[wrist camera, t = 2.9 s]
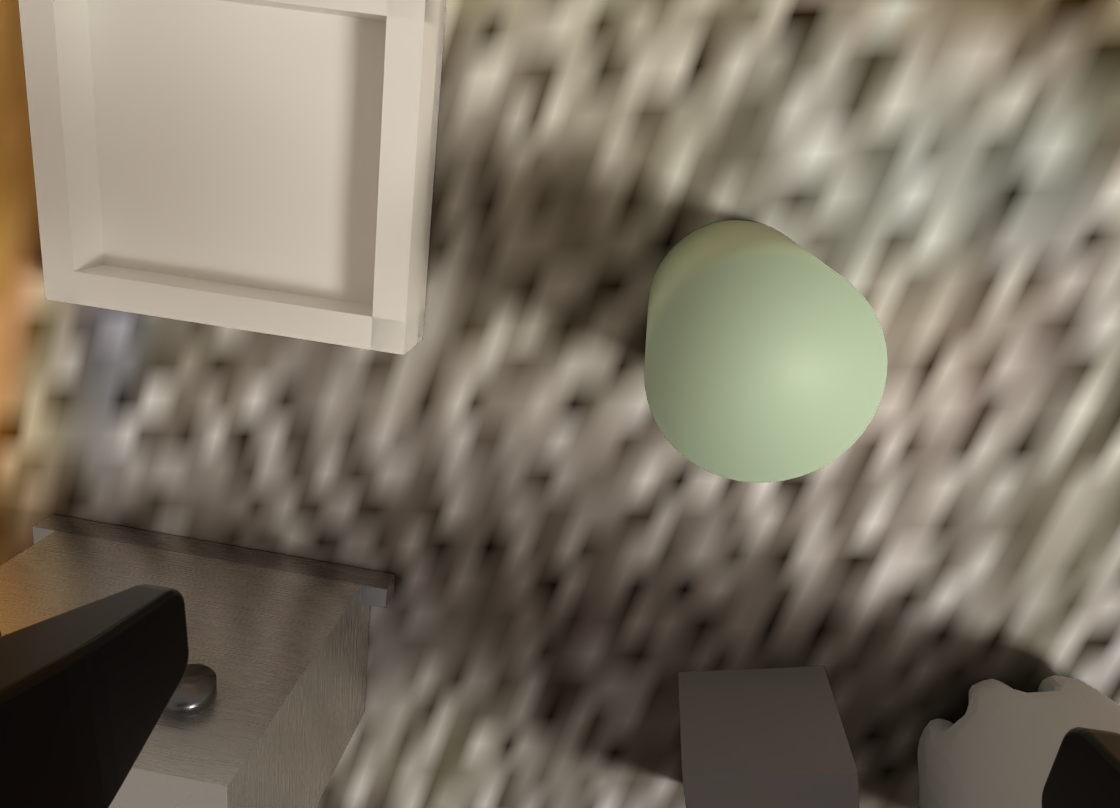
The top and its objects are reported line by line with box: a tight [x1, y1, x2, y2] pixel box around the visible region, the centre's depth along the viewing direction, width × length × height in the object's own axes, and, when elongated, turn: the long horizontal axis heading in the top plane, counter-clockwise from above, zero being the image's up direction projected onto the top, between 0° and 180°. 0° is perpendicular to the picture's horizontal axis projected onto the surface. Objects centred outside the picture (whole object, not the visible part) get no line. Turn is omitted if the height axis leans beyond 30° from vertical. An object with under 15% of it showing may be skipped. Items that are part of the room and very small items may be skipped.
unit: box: [0, 514, 396, 808], centre depth 20 cm, size 10×6×8 cm, turn 83°
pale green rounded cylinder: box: [644, 220, 887, 483], centre depth 16 cm, size 4×4×6 cm
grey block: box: [678, 666, 859, 808], centre depth 21 cm, size 4×4×4 cm
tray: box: [18, 0, 446, 355], centre depth 18 cm, size 9×8×2 cm
